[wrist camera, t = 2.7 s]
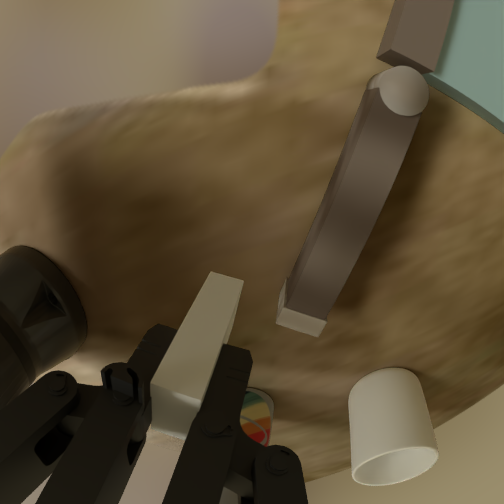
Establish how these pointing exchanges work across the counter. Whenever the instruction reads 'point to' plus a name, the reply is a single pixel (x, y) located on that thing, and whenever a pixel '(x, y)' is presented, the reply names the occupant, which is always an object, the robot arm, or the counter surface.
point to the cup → (390, 428)
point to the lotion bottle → (253, 426)
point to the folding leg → (353, 197)
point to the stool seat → (452, 50)
